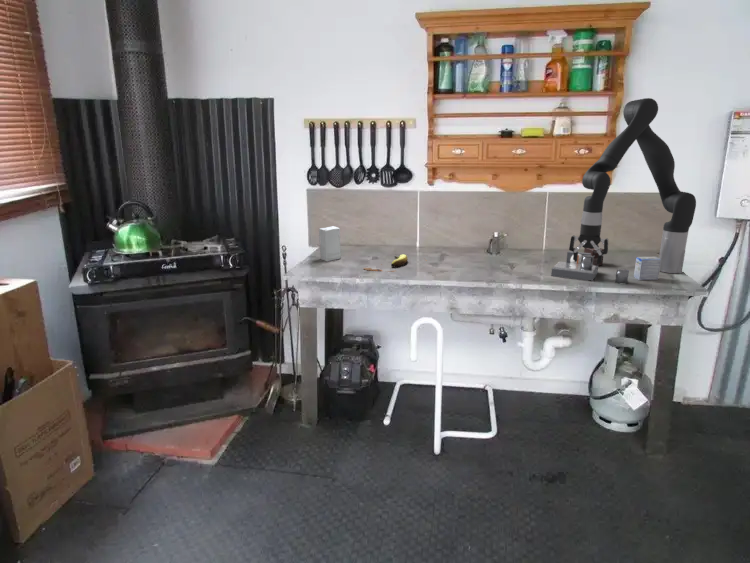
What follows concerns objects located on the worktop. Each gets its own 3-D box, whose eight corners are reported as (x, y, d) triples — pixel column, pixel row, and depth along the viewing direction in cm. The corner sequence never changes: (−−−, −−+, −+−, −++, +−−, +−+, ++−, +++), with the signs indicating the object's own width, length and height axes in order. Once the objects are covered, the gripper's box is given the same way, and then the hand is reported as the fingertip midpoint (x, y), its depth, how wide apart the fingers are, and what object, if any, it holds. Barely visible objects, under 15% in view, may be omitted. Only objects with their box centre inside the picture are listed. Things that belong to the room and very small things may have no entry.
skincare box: (334, 256, 250) (333, 225, 246) (341, 259, 245) (340, 227, 241) (319, 259, 245) (318, 227, 241) (326, 261, 241) (325, 229, 236)
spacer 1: (592, 267, 214) (594, 255, 213) (591, 270, 210) (592, 258, 209) (581, 266, 216) (582, 254, 215) (579, 268, 212) (581, 256, 211)
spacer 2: (627, 281, 208) (629, 269, 207) (626, 284, 205) (628, 272, 203) (615, 280, 210) (617, 268, 209) (614, 282, 207) (616, 270, 205)
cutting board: (419, 276, 218) (420, 267, 217) (357, 271, 226) (357, 263, 225) (435, 257, 251) (435, 249, 249) (380, 253, 258) (380, 245, 257)
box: (590, 266, 231) (592, 250, 228) (582, 263, 236) (584, 247, 234) (602, 265, 232) (604, 249, 230) (593, 262, 238) (595, 246, 236)
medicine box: (652, 277, 214) (655, 256, 212) (658, 280, 210) (661, 259, 207) (633, 277, 214) (636, 256, 211) (638, 280, 210) (641, 259, 207)
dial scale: (597, 272, 221) (599, 254, 218) (592, 281, 209) (594, 261, 207) (558, 268, 228) (559, 250, 226) (551, 275, 216) (553, 257, 214)
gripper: (611, 222, 208) (607, 262, 212) (574, 220, 214) (570, 258, 219) (609, 226, 201) (604, 266, 206) (570, 222, 208) (566, 262, 213)
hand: (586, 262), depth 213 cm, fingers open, 8 cm apart
